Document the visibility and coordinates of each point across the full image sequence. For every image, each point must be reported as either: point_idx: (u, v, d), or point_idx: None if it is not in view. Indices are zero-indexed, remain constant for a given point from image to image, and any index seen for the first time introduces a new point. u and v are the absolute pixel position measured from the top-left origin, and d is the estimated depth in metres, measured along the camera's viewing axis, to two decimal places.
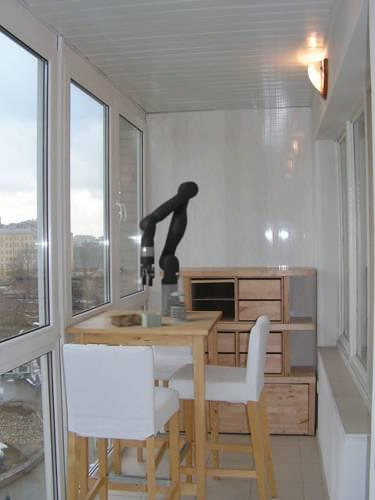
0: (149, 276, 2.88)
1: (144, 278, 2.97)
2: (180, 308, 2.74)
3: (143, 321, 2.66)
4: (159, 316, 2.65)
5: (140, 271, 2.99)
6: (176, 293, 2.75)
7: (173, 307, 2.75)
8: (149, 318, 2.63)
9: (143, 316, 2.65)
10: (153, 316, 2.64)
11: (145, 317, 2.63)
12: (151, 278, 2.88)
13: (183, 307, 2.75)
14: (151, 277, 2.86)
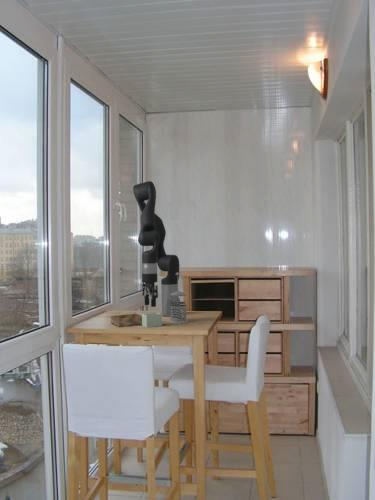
0: None
1: (146, 297, 2.70)
2: (180, 308, 2.74)
3: (143, 321, 2.66)
4: (159, 316, 2.65)
5: (142, 289, 2.72)
6: (176, 293, 2.75)
7: (173, 307, 2.75)
8: (149, 318, 2.63)
9: (143, 316, 2.65)
10: (153, 316, 2.64)
11: (145, 317, 2.63)
12: (154, 298, 2.61)
13: (183, 307, 2.75)
14: (154, 297, 2.59)
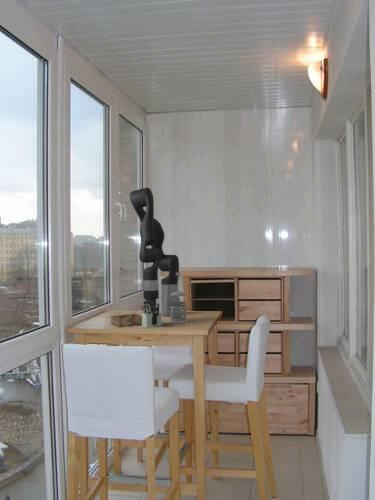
0: None
1: None
2: (180, 308, 2.74)
3: (143, 321, 2.66)
4: (159, 316, 2.65)
5: (144, 307, 2.71)
6: (176, 293, 2.75)
7: (173, 307, 2.75)
8: (149, 318, 2.62)
9: (143, 316, 2.65)
10: None
11: (145, 317, 2.63)
12: (155, 316, 2.62)
13: (183, 307, 2.75)
14: (155, 315, 2.61)
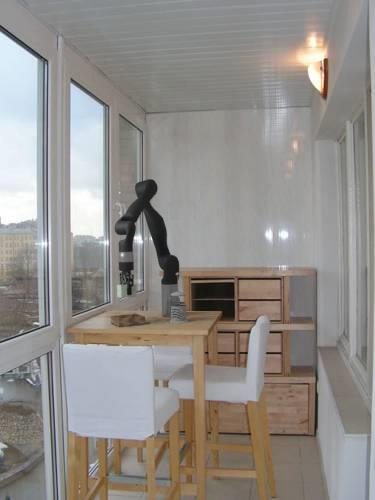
0: None
1: None
2: (180, 308, 2.74)
3: (118, 292, 2.73)
4: (134, 287, 2.72)
5: (120, 279, 2.78)
6: (176, 293, 2.75)
7: (173, 307, 2.75)
8: (123, 288, 2.69)
9: (118, 287, 2.72)
10: None
11: (120, 287, 2.70)
12: (130, 286, 2.69)
13: (183, 307, 2.75)
14: (129, 285, 2.67)
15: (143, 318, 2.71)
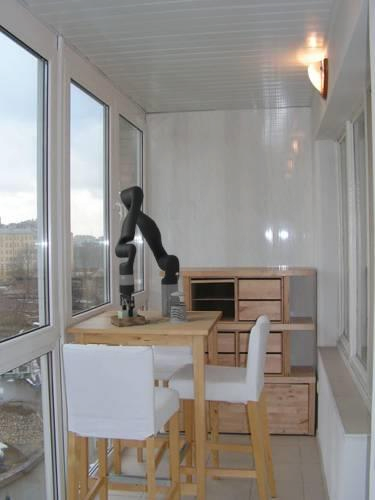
0: None
1: (124, 307, 2.77)
2: (180, 308, 2.74)
3: None
4: (135, 313, 2.72)
5: (120, 300, 2.79)
6: (176, 293, 2.75)
7: (173, 307, 2.75)
8: (124, 315, 2.70)
9: (119, 313, 2.72)
10: None
11: (121, 314, 2.70)
12: (131, 308, 2.68)
13: (183, 307, 2.75)
14: (131, 307, 2.67)
15: (143, 318, 2.71)
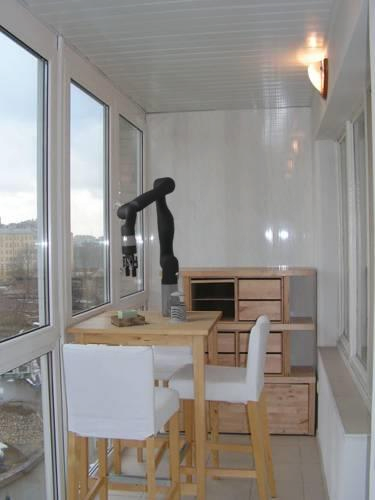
0: (132, 266, 2.74)
1: (127, 269, 2.82)
2: (180, 308, 2.74)
3: None
4: (135, 313, 2.72)
5: None
6: (176, 293, 2.75)
7: (173, 307, 2.75)
8: (124, 315, 2.70)
9: (119, 313, 2.72)
10: (129, 313, 2.71)
11: (121, 314, 2.70)
12: (134, 268, 2.73)
13: (183, 307, 2.75)
14: (134, 267, 2.72)
15: (143, 318, 2.71)
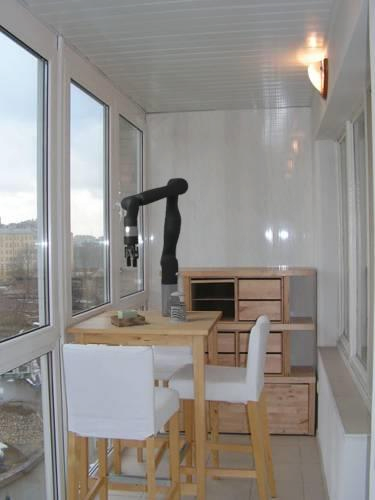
0: (133, 256, 2.78)
1: (128, 259, 2.86)
2: (180, 308, 2.74)
3: None
4: (135, 313, 2.72)
5: None
6: (176, 293, 2.75)
7: (173, 307, 2.75)
8: (124, 315, 2.70)
9: (119, 313, 2.72)
10: (129, 313, 2.71)
11: (121, 314, 2.70)
12: (135, 258, 2.77)
13: (183, 307, 2.75)
14: (135, 257, 2.76)
15: (143, 318, 2.71)
